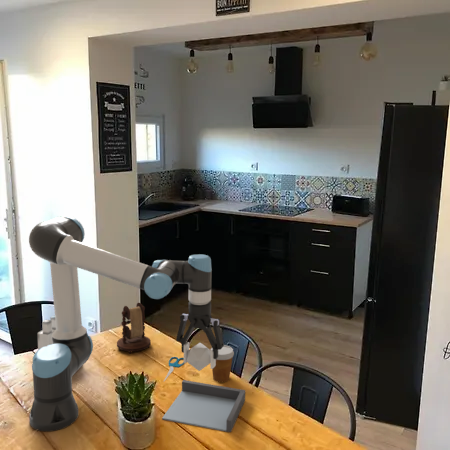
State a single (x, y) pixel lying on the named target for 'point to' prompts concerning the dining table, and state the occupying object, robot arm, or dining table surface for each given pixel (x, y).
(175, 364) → the scissors
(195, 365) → the die
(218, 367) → the disposable coffee cup
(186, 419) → the tray
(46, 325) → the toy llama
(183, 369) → the dining table surface
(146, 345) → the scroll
